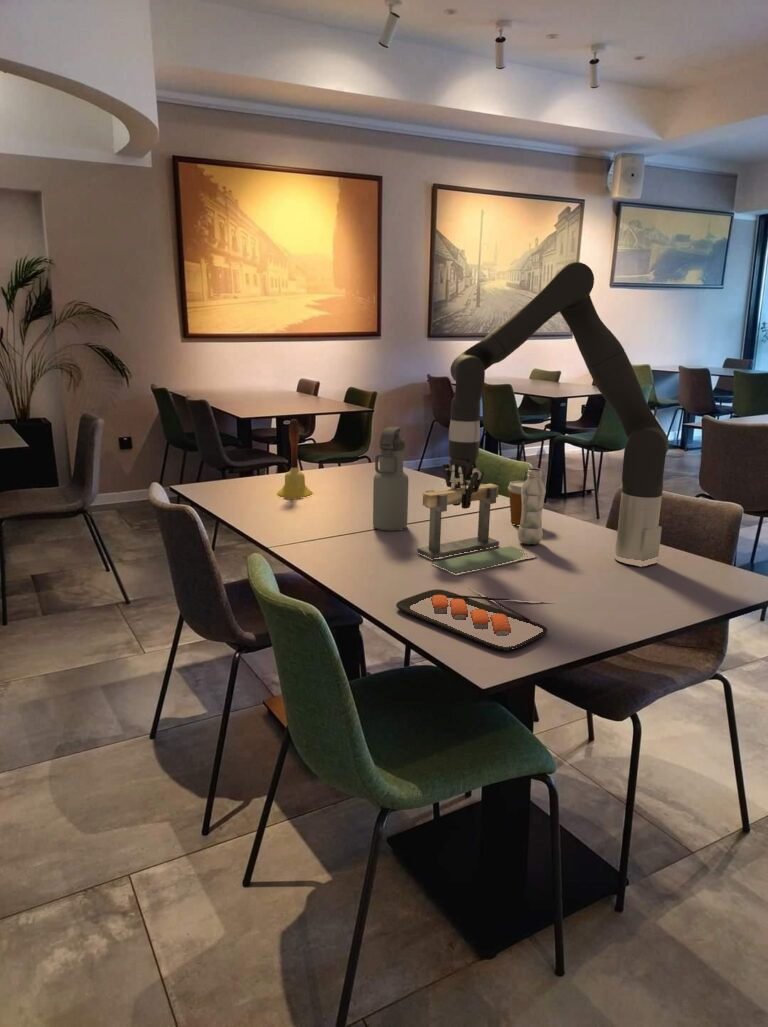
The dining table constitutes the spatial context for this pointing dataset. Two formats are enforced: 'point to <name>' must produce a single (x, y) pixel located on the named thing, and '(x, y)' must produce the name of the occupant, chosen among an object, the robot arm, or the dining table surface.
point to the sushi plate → (461, 612)
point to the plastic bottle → (532, 508)
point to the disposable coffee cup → (515, 501)
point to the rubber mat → (481, 559)
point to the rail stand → (462, 545)
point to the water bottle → (390, 483)
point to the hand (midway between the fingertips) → (460, 506)
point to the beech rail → (456, 495)
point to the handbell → (294, 469)
